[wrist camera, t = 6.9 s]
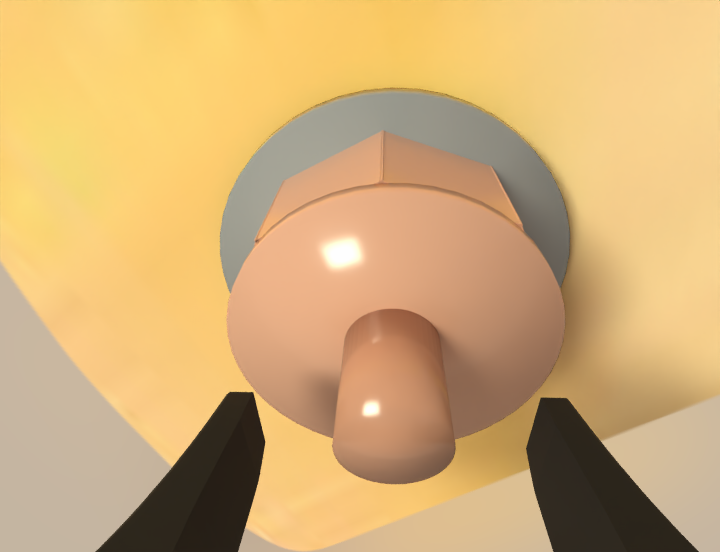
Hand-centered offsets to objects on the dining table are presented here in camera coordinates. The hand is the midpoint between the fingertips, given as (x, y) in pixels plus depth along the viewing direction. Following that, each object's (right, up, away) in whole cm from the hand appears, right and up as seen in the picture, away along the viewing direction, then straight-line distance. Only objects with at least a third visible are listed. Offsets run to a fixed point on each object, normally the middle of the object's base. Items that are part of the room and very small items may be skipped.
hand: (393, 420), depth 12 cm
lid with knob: (0, +4, +5) cm, 7 cm away
